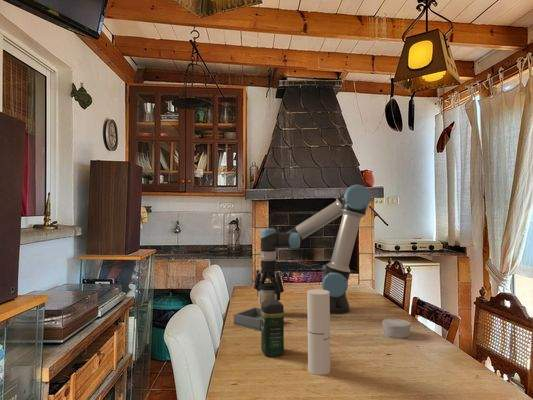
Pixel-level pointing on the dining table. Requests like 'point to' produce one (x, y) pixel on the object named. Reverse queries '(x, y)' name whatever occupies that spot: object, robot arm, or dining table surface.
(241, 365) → the dining table surface
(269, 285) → the coffee cup
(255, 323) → the tray
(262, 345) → the coffee jar
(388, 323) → the ramekin
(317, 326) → the cylindrical container
